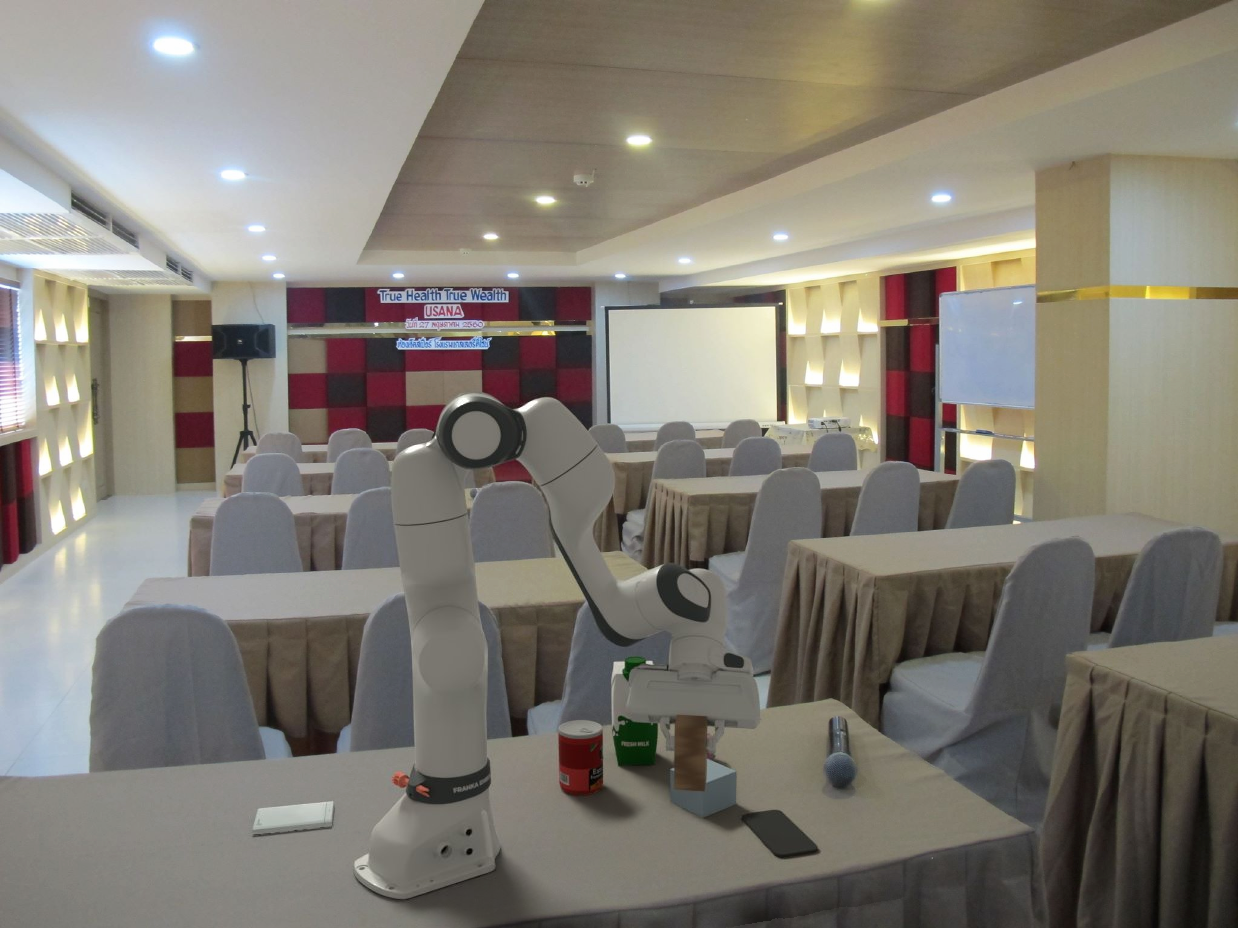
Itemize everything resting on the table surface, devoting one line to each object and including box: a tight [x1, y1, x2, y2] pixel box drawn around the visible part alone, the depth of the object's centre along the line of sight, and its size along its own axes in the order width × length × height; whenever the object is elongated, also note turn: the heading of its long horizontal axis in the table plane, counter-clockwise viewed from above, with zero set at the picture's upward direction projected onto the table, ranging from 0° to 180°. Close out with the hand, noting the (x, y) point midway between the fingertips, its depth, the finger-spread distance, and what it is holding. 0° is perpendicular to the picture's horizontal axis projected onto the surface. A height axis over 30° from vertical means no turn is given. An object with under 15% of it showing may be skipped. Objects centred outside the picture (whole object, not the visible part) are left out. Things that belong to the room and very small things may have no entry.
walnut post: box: [673, 715, 708, 791], centre depth 150 cm, size 4×4×10 cm
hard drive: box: [251, 801, 335, 834], centre depth 169 cm, size 2×8×12 cm
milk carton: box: [610, 656, 659, 767], centre depth 193 cm, size 9×9×20 cm
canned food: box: [557, 719, 604, 796], centre depth 181 cm, size 8×8×11 cm
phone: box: [741, 809, 819, 859], centre depth 163 cm, size 7×1×15 cm
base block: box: [669, 759, 737, 818], centre depth 174 cm, size 8×8×6 cm
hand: (690, 750), depth 150 cm, fingers closed on walnut post, 4 cm apart
